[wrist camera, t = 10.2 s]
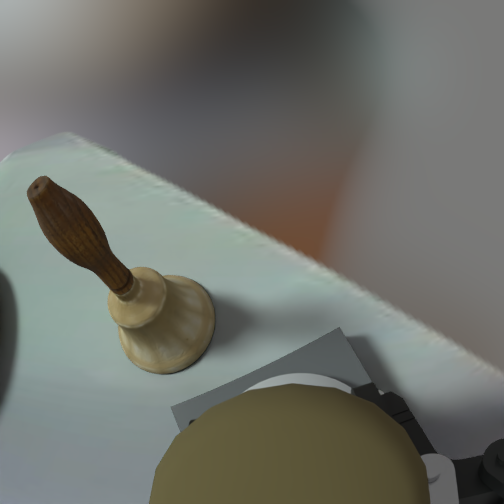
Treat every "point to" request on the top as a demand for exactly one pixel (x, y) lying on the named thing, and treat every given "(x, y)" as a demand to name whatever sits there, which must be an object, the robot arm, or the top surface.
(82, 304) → the top surface
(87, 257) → the hand bell
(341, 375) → the scale
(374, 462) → the cork
